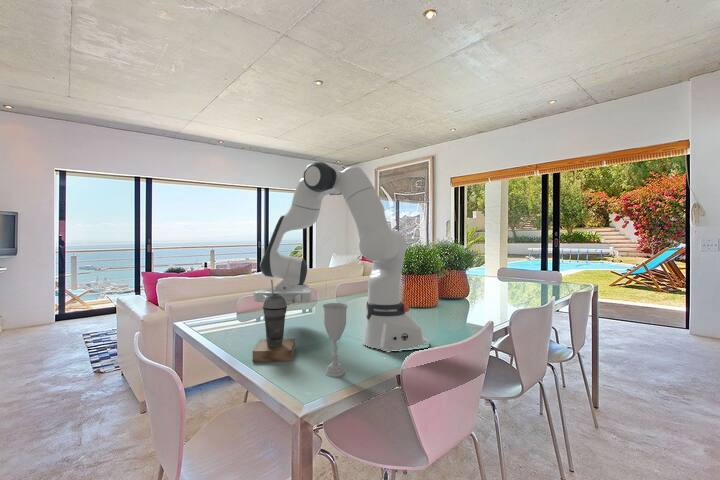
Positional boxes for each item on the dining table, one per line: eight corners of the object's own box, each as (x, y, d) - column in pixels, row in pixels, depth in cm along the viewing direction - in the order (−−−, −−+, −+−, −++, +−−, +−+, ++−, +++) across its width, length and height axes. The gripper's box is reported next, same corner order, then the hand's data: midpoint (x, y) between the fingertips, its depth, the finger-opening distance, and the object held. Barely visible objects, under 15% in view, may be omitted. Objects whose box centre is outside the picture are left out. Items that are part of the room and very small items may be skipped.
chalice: (322, 367, 95) (322, 303, 95) (346, 367, 96) (347, 302, 95) (321, 378, 88) (322, 308, 88) (347, 378, 88) (348, 308, 88)
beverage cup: (280, 349, 101) (281, 281, 100) (257, 347, 102) (258, 280, 102) (290, 342, 108) (291, 278, 108) (269, 340, 109) (269, 277, 109)
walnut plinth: (294, 348, 111) (295, 339, 111) (291, 360, 100) (291, 350, 100) (260, 349, 110) (260, 339, 110) (252, 361, 99) (252, 351, 99)
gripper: (257, 284, 129) (249, 290, 116) (312, 284, 131) (310, 290, 117) (257, 301, 129) (249, 309, 116) (312, 301, 131) (310, 309, 117)
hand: (280, 300), depth 116 cm, fingers open, 8 cm apart
